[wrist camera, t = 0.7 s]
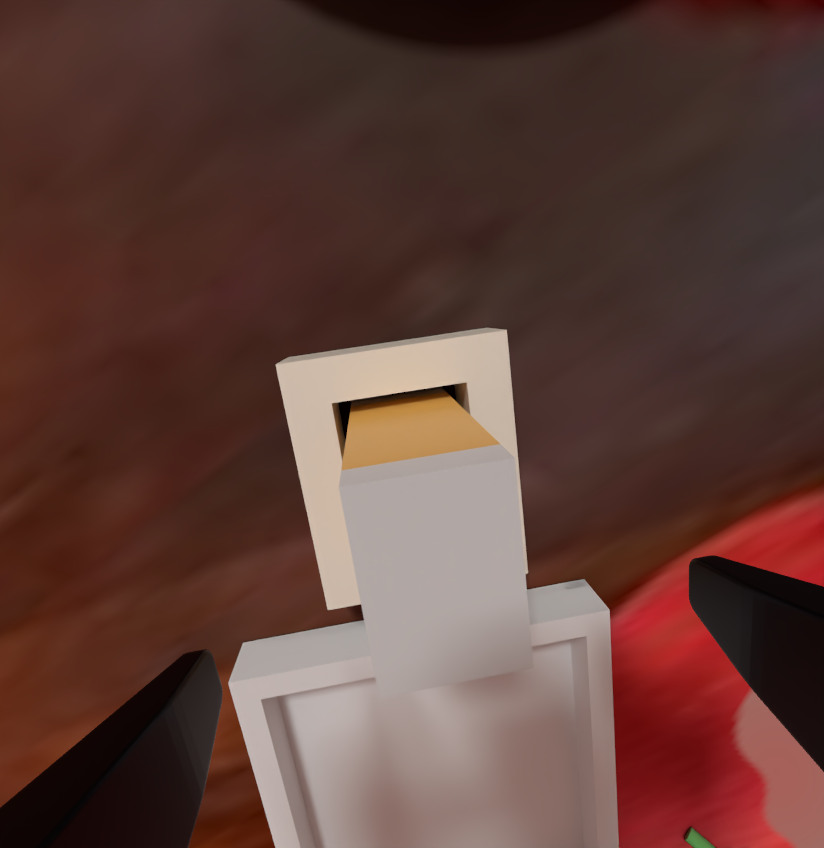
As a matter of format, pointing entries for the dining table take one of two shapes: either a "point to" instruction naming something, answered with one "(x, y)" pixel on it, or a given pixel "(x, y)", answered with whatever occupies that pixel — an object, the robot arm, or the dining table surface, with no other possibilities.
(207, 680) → the robot arm
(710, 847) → the blue toy water gun
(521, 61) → the dining table surface
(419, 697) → the parts tray
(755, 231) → the dining table surface
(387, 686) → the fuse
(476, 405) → the white shallow boxy piece
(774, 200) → the dining table surface
